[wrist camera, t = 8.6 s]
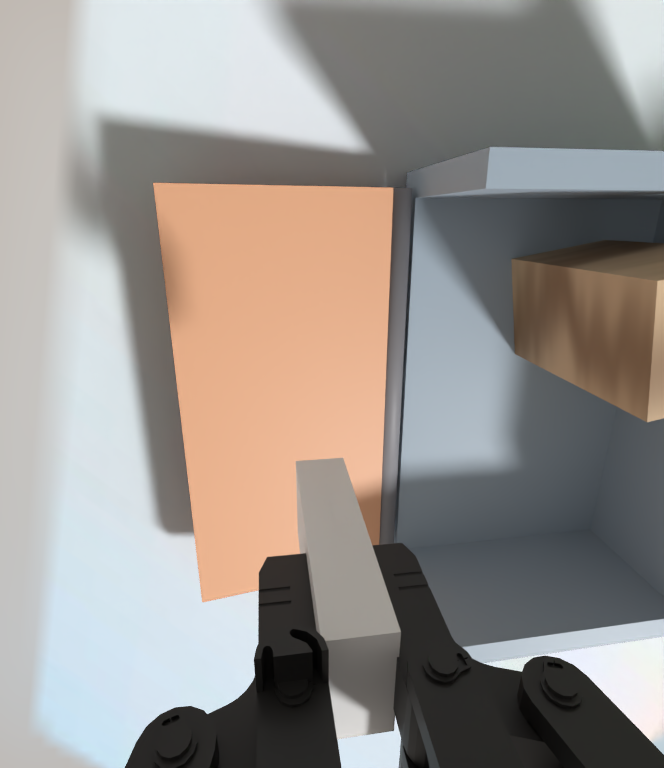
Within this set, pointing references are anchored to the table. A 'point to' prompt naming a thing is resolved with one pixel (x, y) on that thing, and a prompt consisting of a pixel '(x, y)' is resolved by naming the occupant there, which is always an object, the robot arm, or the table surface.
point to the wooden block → (596, 320)
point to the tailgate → (283, 356)
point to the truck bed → (524, 413)
